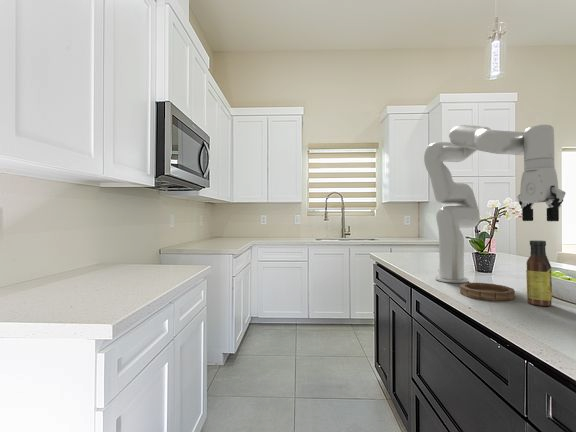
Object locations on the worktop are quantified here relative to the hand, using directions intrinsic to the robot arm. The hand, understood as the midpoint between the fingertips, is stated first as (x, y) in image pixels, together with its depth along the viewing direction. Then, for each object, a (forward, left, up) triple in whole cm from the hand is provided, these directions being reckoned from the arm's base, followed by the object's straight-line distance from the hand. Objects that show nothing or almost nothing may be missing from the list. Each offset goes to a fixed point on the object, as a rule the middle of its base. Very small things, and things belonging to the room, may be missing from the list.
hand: (539, 221), depth 101 cm
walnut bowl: (-12, -9, -26) cm, 30 cm away
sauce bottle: (0, 0, -26) cm, 26 cm away
